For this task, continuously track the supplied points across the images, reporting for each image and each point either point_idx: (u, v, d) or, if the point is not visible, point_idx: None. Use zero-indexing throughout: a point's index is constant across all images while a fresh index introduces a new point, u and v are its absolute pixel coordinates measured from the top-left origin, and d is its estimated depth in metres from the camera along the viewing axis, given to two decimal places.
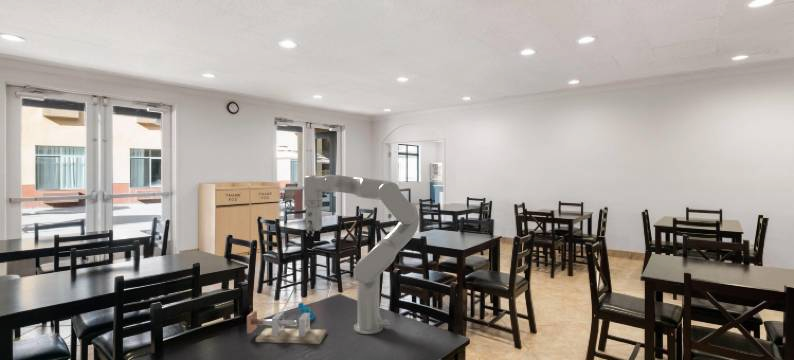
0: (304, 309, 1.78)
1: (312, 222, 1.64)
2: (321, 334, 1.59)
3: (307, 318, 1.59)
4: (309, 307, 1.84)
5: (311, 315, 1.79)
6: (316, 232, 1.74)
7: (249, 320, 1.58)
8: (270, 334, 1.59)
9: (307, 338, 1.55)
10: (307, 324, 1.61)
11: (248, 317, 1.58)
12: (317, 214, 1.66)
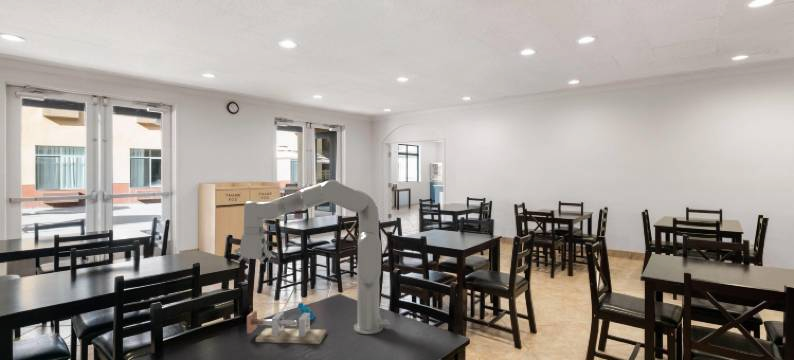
0: (304, 309, 1.78)
1: (265, 248, 1.62)
2: (321, 334, 1.59)
3: (307, 318, 1.59)
4: (309, 307, 1.85)
5: (311, 315, 1.79)
6: (243, 261, 1.64)
7: (249, 320, 1.58)
8: (270, 334, 1.59)
9: (307, 338, 1.55)
10: (307, 324, 1.61)
11: (248, 317, 1.58)
12: None
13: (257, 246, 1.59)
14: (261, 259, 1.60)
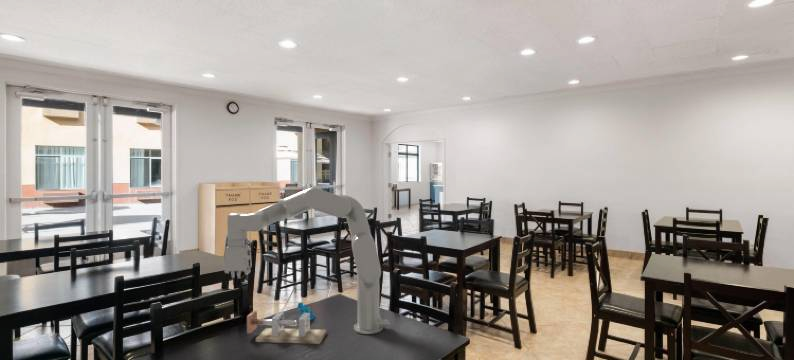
0: (303, 309, 1.78)
1: (250, 260, 1.61)
2: (321, 334, 1.59)
3: (307, 318, 1.59)
4: (309, 307, 1.85)
5: (310, 315, 1.79)
6: (237, 275, 1.61)
7: (249, 320, 1.58)
8: (270, 334, 1.59)
9: (307, 338, 1.55)
10: (307, 324, 1.61)
11: (248, 317, 1.58)
12: None
13: (243, 258, 1.58)
14: (240, 274, 1.59)
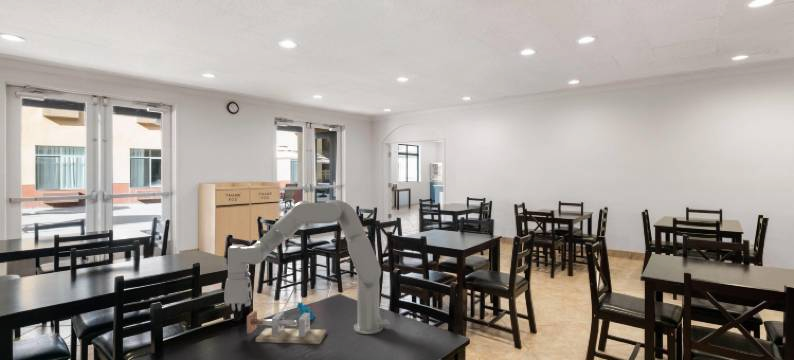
0: (303, 309, 1.78)
1: (250, 292, 1.62)
2: (321, 334, 1.59)
3: (307, 318, 1.59)
4: (309, 307, 1.85)
5: (310, 315, 1.79)
6: (237, 307, 1.61)
7: (249, 320, 1.58)
8: (270, 334, 1.59)
9: (307, 338, 1.55)
10: (307, 324, 1.61)
11: (248, 317, 1.58)
12: None
13: (243, 291, 1.58)
14: (240, 306, 1.60)
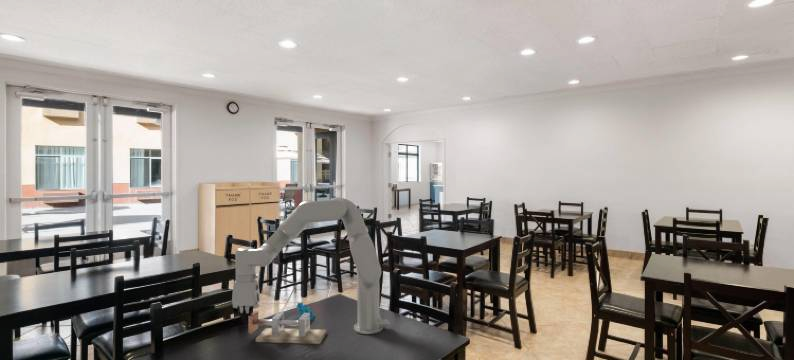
0: (303, 309, 1.78)
1: (258, 294, 1.61)
2: (321, 334, 1.59)
3: (307, 318, 1.59)
4: (309, 307, 1.85)
5: (310, 315, 1.79)
6: (245, 310, 1.61)
7: (251, 320, 1.58)
8: (270, 334, 1.59)
9: (307, 338, 1.55)
10: (307, 324, 1.61)
11: (250, 317, 1.58)
12: None
13: (251, 293, 1.58)
14: (248, 309, 1.59)
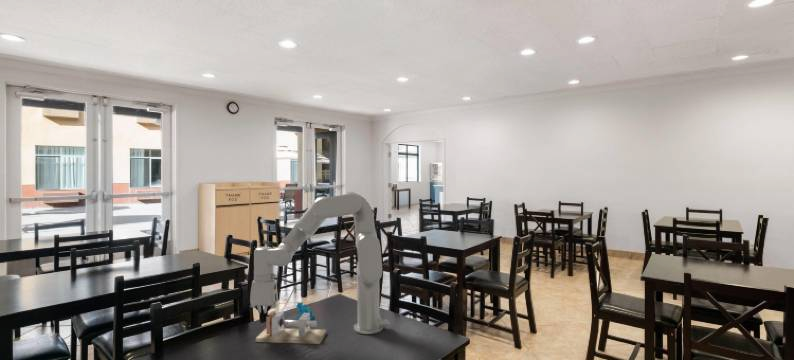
0: (302, 309, 1.78)
1: (276, 294, 1.61)
2: (321, 334, 1.59)
3: (307, 318, 1.59)
4: (309, 307, 1.85)
5: None
6: (263, 309, 1.60)
7: (268, 321, 1.57)
8: (270, 334, 1.59)
9: (307, 338, 1.55)
10: None
11: (267, 318, 1.57)
12: None
13: (270, 293, 1.58)
14: (266, 308, 1.59)
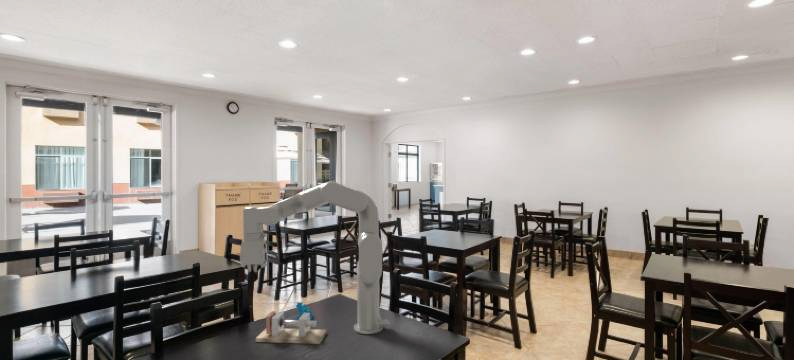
0: (302, 309, 1.78)
1: (266, 254, 1.61)
2: (321, 334, 1.59)
3: (307, 318, 1.59)
4: (308, 307, 1.85)
5: None
6: (253, 269, 1.60)
7: (268, 321, 1.57)
8: (270, 334, 1.59)
9: (307, 338, 1.55)
10: None
11: (267, 318, 1.57)
12: None
13: (259, 252, 1.58)
14: (256, 267, 1.59)
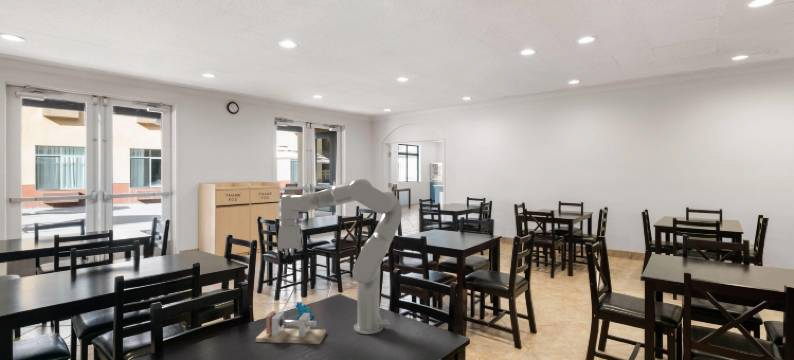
0: (301, 309, 1.78)
1: (301, 238, 1.73)
2: (321, 334, 1.59)
3: (307, 318, 1.59)
4: (308, 307, 1.85)
5: None
6: None
7: (268, 321, 1.57)
8: (270, 334, 1.59)
9: (307, 338, 1.55)
10: None
11: (267, 318, 1.57)
12: None
13: (296, 236, 1.70)
14: (293, 251, 1.71)
